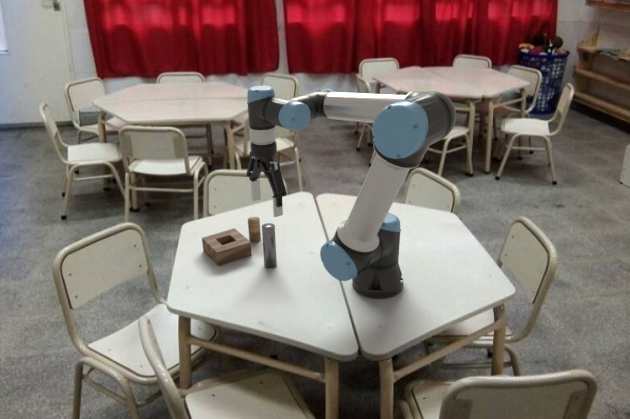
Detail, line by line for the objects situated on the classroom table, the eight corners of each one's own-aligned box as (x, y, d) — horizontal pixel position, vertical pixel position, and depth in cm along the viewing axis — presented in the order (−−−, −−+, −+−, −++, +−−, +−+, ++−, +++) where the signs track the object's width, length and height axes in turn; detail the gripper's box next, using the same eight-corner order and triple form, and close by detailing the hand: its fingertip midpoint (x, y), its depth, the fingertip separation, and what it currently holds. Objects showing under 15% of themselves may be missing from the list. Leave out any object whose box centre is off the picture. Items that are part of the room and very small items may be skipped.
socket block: (251, 255, 182) (250, 242, 179) (218, 266, 176) (216, 252, 173) (235, 241, 191) (234, 228, 188) (203, 250, 185) (201, 237, 183)
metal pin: (279, 265, 175) (277, 226, 169) (268, 269, 173) (265, 230, 167) (272, 260, 178) (270, 222, 172) (262, 264, 176) (259, 225, 170)
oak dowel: (262, 240, 191) (261, 219, 187) (252, 243, 189) (251, 222, 185) (257, 235, 194) (256, 215, 190) (247, 239, 192) (245, 218, 188)
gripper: (297, 150, 150) (299, 219, 160) (254, 128, 169) (258, 191, 178) (273, 155, 147) (276, 226, 156) (232, 132, 166) (237, 196, 175)
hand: (267, 207), depth 167 cm, fingers open, 13 cm apart
